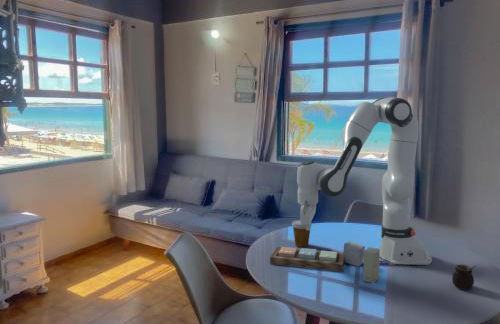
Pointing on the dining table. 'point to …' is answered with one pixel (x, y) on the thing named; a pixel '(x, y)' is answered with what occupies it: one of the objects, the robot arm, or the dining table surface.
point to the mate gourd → (463, 277)
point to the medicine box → (353, 253)
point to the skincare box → (371, 265)
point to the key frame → (308, 261)
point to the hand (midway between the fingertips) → (308, 229)
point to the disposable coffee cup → (300, 234)
